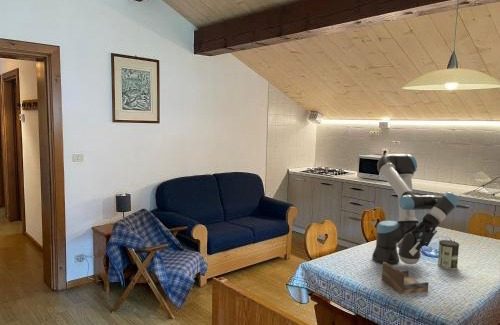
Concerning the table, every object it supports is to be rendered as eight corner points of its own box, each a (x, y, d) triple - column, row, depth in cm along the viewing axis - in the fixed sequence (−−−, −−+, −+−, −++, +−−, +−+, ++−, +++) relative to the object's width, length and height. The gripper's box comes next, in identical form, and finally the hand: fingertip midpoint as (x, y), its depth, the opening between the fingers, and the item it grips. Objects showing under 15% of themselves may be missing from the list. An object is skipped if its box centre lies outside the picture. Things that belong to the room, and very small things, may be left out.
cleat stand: (407, 278, 201) (408, 260, 200) (427, 291, 185) (429, 271, 184) (381, 280, 197) (382, 261, 196) (400, 294, 182) (401, 274, 181)
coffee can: (454, 264, 223) (455, 240, 222) (459, 270, 213) (462, 246, 212) (435, 262, 225) (437, 239, 224) (440, 268, 215) (442, 244, 214)
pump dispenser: (418, 267, 183) (420, 237, 181) (396, 263, 188) (397, 233, 187) (421, 261, 191) (423, 232, 190) (400, 257, 197) (401, 229, 195)
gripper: (454, 228, 181) (423, 263, 179) (423, 217, 202) (395, 248, 200) (445, 218, 179) (414, 252, 177) (415, 208, 201) (386, 239, 198)
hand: (404, 250), depth 189 cm, fingers closed on pump dispenser, 9 cm apart
